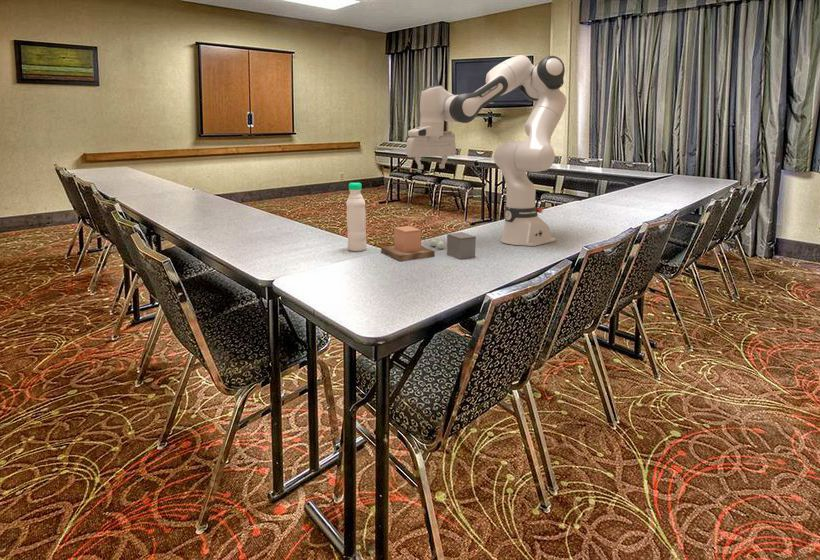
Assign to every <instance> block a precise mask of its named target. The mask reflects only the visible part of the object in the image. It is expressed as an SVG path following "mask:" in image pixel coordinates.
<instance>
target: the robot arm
mask: <svg viewBox="0 0 820 560" xmlns="http://www.w3.org/2000/svg"><path fill="white" fill-rule="evenodd" d="M531 61H532V60H530V58H529V57H528V56H527V55H524V54H519V55H515V56H513V57H510V58H508V59H506V60H504V61H503V60H502V62H500V63H499V64H497V65H495V66H493V67H492V68H491V69H490V70H489V71H488V72H487V73H486V76H485V84H484V85H483V86H481V87H480V88H478V89H476V90H475V91H474V92H471V93H470V92H466V93H461V94H453V93H451V92H449V91H448V90H446V89H445V88H444V87H443V85H440V84H438V85H437V84H436V85H431V86H427V87H424V88H423V89H422V90H421V93H420V103H419V112H420V121H419V126H417V127H415V128H412V129H409V130H408V131H407V136H408V138H407V140H406V146H405V147H406V149H405V154H406V156H407V157H408V158H414V160H415V163H416V164H417V169H418V170H424V164H423V163H422V162H421V160H422V158H429V157H431V158H432V157H433V158H434V157H436V158H437V157H441V163H439V164H438V167H439V169H445V165H446V163H447V161H448V157H455V155H456V153H457V147H456V134H455V133H454V132H453V131H452V130H449V131H447V130H446V131H445V130H444V125H445V123H444V122H448V123H463V124H467V123H470V122H472V121H474V120H475V119H476V117H477V116H478V114H480V112H481V111H482V110H483V109H484V108H485V107H486V106H487V105H489V104H490V103H491V102H493V101H495V100H496V99H498V98H499V97H501V96H504V95H506V94H508V93H510V92H512V91H513V90H515V89H517V88H518V89H519V90H520V91H521V93H522V95H523V96H524V97H525V98H526V99H527V100H528V101H530V102H536V104H535V106H534V107H533V109H532V111H531V113H530V114H529V116H528V118H527V120H526V122H525V124H524V132H525V134H526V135H527V139H526V140H525V141H515V140H514V141H513V140H512V141H511V140H509V141H505V142H502V143H499V144H498V145H497V146H496V148H495V149H494V153H493V160H494V163H495V165H496V166H497V167H498V168H499V170H500V171H501V172H502V175H503V178H504V181H505V187H506V198H505V199H506V203H505V204H506V205H505V206H504V225H503V230H502V234H501V237H500V243H504V244H508V245H512V246H513V245H514V246H527V247H528V246H529V247H535V246H539V245H540V246H541V245H544V244H549V243H553V242H556V238H555V237H554V236H551V231H550V229H551V228H550V226H549V224H547V223H546V221H544V220H543V219H542V218H541V217H539V215H538V213H540V214H542V213H543V212H544V209H543V208H542V207H536V206H535V204H536V192H537V191H536V189H537V188H536V186H535V184H534V183H533V182H532V181H531V180H530V179H529V177H528V174H527V172H531V173H532V172H533V173H538V172H542V171H543V172H544V171H548V170H549V169H551V168H552V166H553V164H554V162H555V159H556V157H555V156H556V155H555V154H556V153H555V151H554V149H553V146H552V145H551V138H552V136H553V133H554V132H555V129H556V128H557V126H558V124H559V122H560V121H561V118H562V116H563V114H564V111H565V108H566V105H567V97H566V95H565V94H564V93H563V92H562V91H561V90H560V88H561V87H563V86H564V84H565V83H564V79H565V78H564V76H565V71H566V70H565V64H564V62H563V60H562V59H561V58H560V57H558V56H555V55H548V56H546V57H544V58H543V59H541V60H540V61H539V62H538V63H537V64H536V65H535V64H533V63H532V62H531Z"/></svg>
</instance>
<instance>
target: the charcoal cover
mask: <svg viewBox="0 0 820 560" xmlns="http://www.w3.org/2000/svg"><path fill="white" fill-rule="evenodd" d="M446 235H447V238H446V239H447V241H446V255H448V254H449V255H448V256H450V255H451V257H454V258H456V259H459V260H463V259H472V258H476V244H477V243H476V242H477V241H476V240H477V238H476V235H472V234H468V233H466V232H462V231H461V232H452V233H447V234H446Z"/></svg>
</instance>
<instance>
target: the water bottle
mask: <svg viewBox="0 0 820 560" xmlns="http://www.w3.org/2000/svg"><path fill="white" fill-rule="evenodd" d="M348 190H349V194H348V197H347V200H346V203H345V205H346V225H347V226H346V227H347V249H348V251H350V252H363V251H366V249H367V247H368V246H367V244H368V243H367V231H366V230H367V229H366V228H367V222H366V221H367V218H366V216H367V214H366V201H365V198H364V197H363V195H362V193H361V191H362V183H361V182H349V184H348Z"/></svg>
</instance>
